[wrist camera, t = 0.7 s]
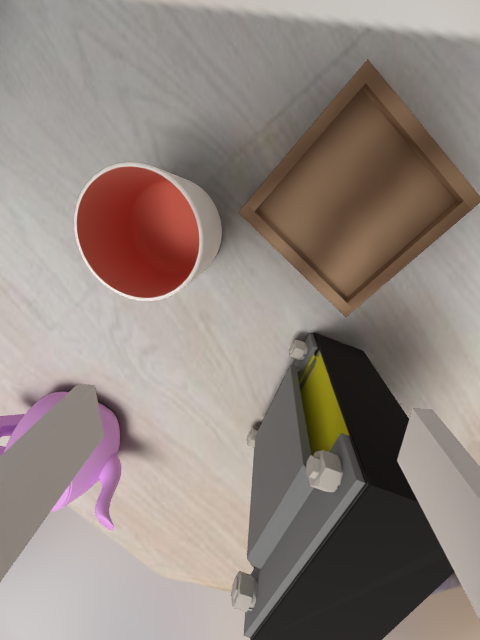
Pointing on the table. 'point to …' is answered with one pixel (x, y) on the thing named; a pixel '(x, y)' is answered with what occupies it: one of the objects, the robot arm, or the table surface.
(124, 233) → the cup
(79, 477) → the teapot
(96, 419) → the robot arm
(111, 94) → the table surface
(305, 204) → the wooden tray
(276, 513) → the electrical component
